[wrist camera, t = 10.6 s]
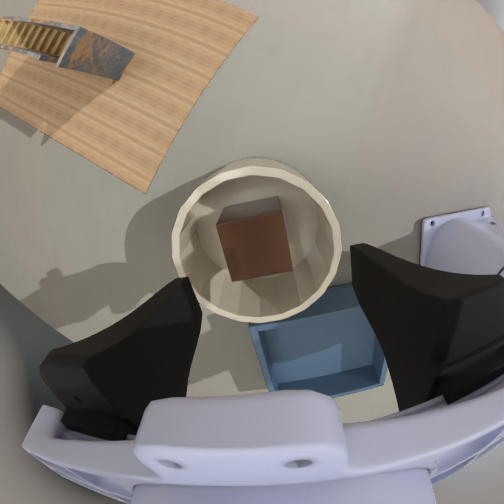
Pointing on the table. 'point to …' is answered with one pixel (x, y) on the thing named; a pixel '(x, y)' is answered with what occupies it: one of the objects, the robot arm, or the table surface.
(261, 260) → the walnut block
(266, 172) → the cup
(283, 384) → the tub
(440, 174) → the table surface
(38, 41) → the architectural model on board
